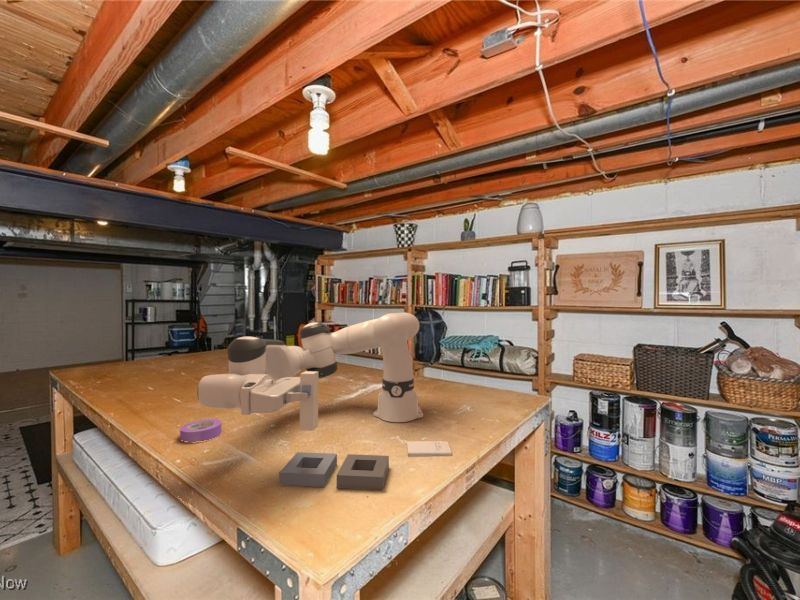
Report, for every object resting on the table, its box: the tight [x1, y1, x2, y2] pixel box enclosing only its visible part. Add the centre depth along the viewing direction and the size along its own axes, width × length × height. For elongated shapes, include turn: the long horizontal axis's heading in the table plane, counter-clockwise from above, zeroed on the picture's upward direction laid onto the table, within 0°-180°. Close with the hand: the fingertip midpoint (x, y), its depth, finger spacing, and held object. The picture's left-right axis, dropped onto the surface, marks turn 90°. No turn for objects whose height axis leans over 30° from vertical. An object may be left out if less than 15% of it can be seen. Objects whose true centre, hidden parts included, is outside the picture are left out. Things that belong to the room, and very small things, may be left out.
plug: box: [299, 370, 319, 432], centre depth 88 cm, size 4×4×14 cm
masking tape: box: [179, 418, 223, 442], centre depth 114 cm, size 12×12×4 cm
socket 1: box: [278, 451, 338, 488], centre depth 89 cm, size 11×11×3 cm
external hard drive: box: [406, 440, 452, 457], centre depth 103 cm, size 2×8×12 cm
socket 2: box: [336, 453, 390, 491], centre depth 87 cm, size 11×11×3 cm
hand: (312, 392), depth 88 cm, fingers closed on plug, 4 cm apart
